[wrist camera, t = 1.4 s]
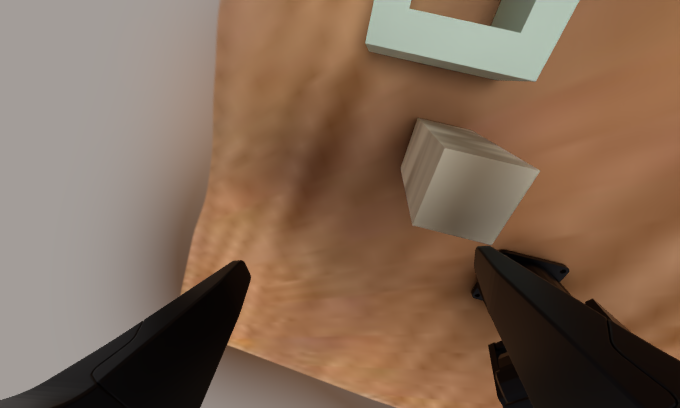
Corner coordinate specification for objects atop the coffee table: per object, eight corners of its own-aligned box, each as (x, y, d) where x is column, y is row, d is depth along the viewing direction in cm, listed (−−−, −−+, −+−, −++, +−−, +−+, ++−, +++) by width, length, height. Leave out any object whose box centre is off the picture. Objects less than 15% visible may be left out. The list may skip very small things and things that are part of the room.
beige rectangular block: (465, 126, 19) (540, 170, 10) (444, 173, 21) (491, 245, 12) (415, 114, 19) (444, 147, 10) (399, 162, 21) (412, 225, 12)
